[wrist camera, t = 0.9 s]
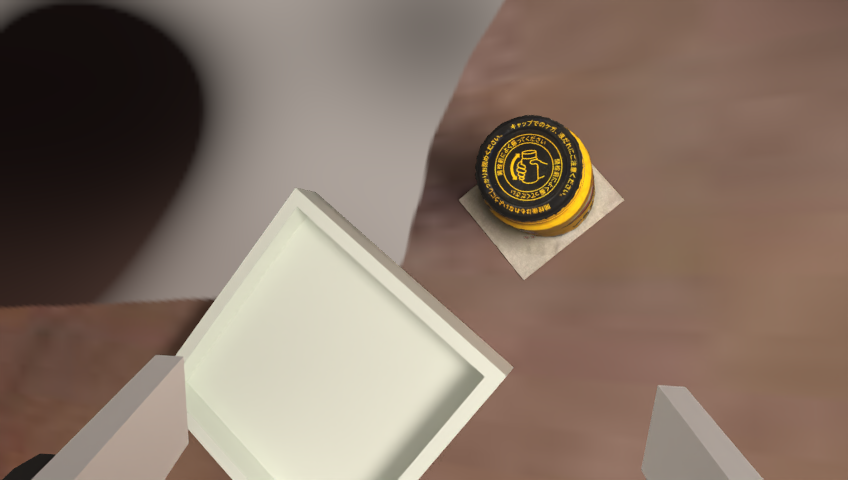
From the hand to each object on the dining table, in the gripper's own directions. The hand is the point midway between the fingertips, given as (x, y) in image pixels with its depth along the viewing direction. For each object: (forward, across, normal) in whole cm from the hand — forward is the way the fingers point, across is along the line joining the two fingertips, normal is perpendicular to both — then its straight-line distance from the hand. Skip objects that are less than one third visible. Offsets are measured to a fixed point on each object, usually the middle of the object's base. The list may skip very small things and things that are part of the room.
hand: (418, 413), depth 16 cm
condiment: (+25, +8, +1) cm, 26 cm away
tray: (+25, -6, -13) cm, 29 cm away
